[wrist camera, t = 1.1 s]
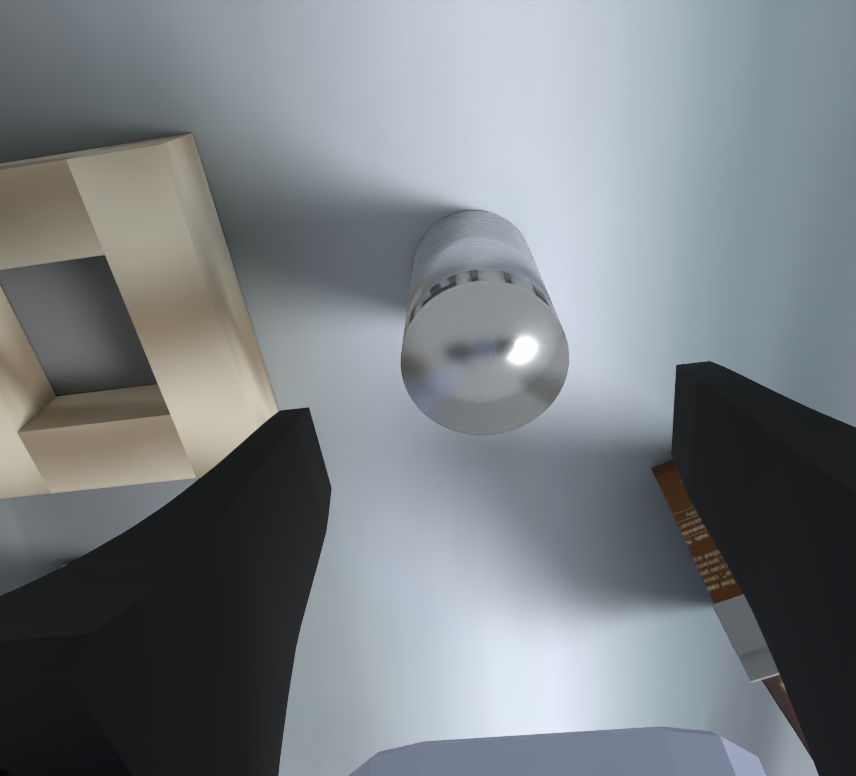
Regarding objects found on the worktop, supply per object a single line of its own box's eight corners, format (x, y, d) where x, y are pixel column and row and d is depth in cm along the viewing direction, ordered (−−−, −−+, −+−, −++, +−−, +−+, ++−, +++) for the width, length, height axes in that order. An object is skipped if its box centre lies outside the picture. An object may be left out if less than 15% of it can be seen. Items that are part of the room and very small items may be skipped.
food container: (885, 571, 27) (1093, 823, 18) (748, 623, 29) (879, 874, 20) (791, 364, 22) (1015, 572, 14) (634, 442, 24) (742, 670, 15)
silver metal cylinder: (535, 317, 22) (572, 425, 15) (422, 331, 22) (414, 442, 16) (527, 201, 20) (566, 273, 14) (404, 219, 20) (387, 297, 14)
